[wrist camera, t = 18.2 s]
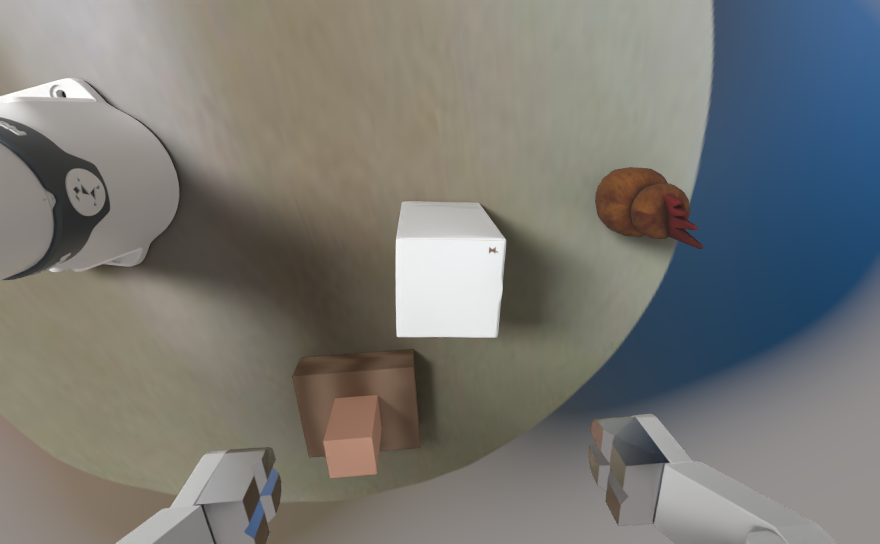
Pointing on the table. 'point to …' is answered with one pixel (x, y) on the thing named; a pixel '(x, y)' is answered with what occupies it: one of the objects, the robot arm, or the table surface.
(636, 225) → the wooden figurine
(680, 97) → the table surface
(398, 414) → the walnut stand
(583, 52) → the table surface
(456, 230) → the supplement box
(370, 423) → the terracotta block
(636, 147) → the table surface
